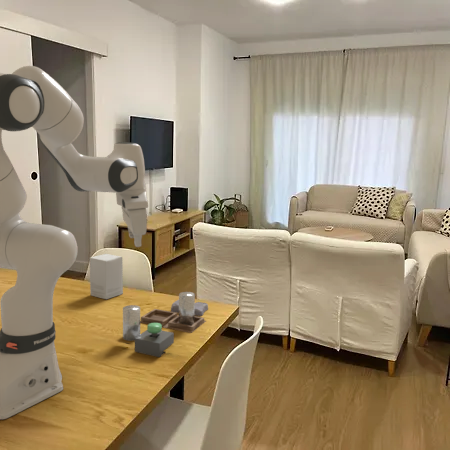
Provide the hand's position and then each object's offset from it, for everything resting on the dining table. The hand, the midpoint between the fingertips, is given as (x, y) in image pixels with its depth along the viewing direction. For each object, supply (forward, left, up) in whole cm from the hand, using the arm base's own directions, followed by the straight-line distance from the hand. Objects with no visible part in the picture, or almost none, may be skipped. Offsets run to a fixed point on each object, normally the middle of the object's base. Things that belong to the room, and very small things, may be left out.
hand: (135, 241), depth 138 cm
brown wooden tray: (+9, -8, -28) cm, 31 cm away
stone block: (+22, -9, -29) cm, 37 cm away
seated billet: (+9, -13, -27) cm, 32 cm away
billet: (-7, -3, -28) cm, 29 cm away
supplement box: (+24, +29, -28) cm, 47 cm away
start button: (-9, -12, -26) cm, 30 cm away
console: (-9, -12, -28) cm, 32 cm away
